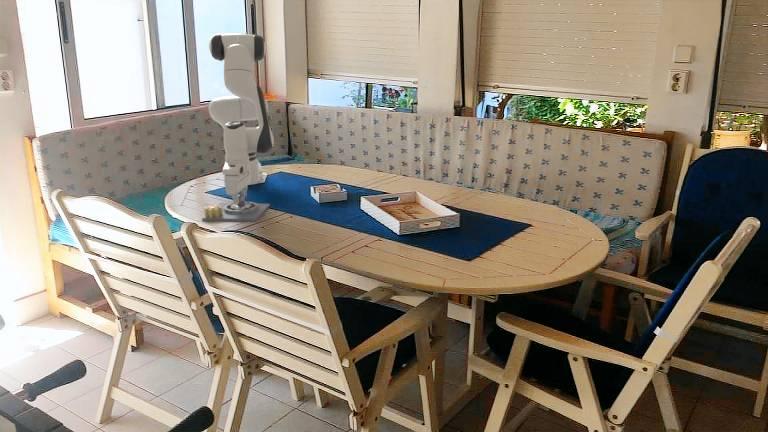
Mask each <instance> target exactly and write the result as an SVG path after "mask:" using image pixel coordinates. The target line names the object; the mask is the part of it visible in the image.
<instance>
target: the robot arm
mask: <svg viewBox="0 0 768 432" xmlns="http://www.w3.org/2000/svg"><path fill="white" fill-rule="evenodd" d="M208 48H209V52H210V54H211V58H213V59H214V60H217V61H220V62H224V63H223V81H224V86H225V88H226V89H227V90H228V91H229V92H230V93H231V94H232V95H230V96H225V95H224V96H220V97H216V98H213V99H211V100H210V102H209V104H208V109H207V110H208V114H209V116H210V118H211V119H212V120H213V121H215V123H218V124H219V125H220V126H221V127H222V129H223V135H222V144H223V145H222V147H223V149H224V152H225V155H224V165H223V168H222V175H223V176H224V177H223V182H224V189H225V193H226V195H227V196H231V197H232V198H231V199H232V201H233V202H232V203H234V205H238V204H239V199H238V195H239V194H243V195H244V198H245V199H246V198H247V197H248V194H247V193H248V186H252V185H257V184H262V183H265V182H266V179H267V176H268V174H267V172H263V170H262V164H261V162H260V161H259V160H258V159H257V153H259V154H267V153H269V151H271V150H272V149H273V148H274V144H275V139H274V138H275V137H274V134H273V132H272V129H271V126H270V125H271V124H270V120H269V115H268V112H269V104H268V102H267V101H268V100H266V98H265V95H264V92H263V90H262V87H261V86H260V85H258V84H257V83H256V81H255V79H254V68H253V62H260V61H262V60H263V59H264V58H265V55H266V53H267V45H266V42H265V40H264V38H263V37H262V36H261V35H258V34H250V33H249V34H248V33H243V32H241V33H240V32H237V33H235V32H234V33H233V32H231V33H222V32H221V33H215V34H213V35H212V36H211V38H210V41H209V47H208ZM256 120H257V122H258V126H255V127H254V126H253V127H250V126H249V127H248V126H247V127H246V125H245V123H244V122H243V121H245V122H246V121H256Z"/></svg>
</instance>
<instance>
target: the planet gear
mask: <svg viewBox="0 0 768 432" xmlns="http://www.w3.org/2000/svg"><path fill="white" fill-rule="evenodd" d="M238 199H239V204H238V205H230V209H231V210H246V209H250V208H252V204H251V203H245V202H246V200H245V199H246V197H245V198H244V195H243V194H241V193H238Z"/></svg>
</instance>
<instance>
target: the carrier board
mask: <svg viewBox="0 0 768 432" xmlns="http://www.w3.org/2000/svg"><path fill="white" fill-rule="evenodd" d="M245 203H251V204H252V208H250V209H246V210H231V209H230V205H234V202H220V203H218V204H213V205H210V204H209V205H207V206H204V207H203V211H204V216H203V217H202V218H201V221H203V222H204V221H205V222H208V221H209V222H251V223H255V222H256V221H258V219H259V218H260V217H262V215H263V214H264V213H265V212H266V211H267V210H268V209H269V208H270V206H271V205H270V203H257V202H253V201H245Z"/></svg>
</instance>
